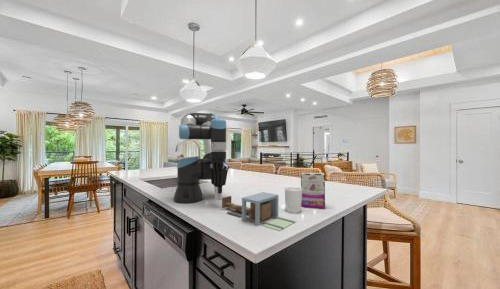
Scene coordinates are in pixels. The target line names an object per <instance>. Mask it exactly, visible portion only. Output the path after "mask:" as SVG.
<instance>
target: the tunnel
mask: <svg viewBox="0 0 500 289" xmlns="http://www.w3.org/2000/svg"><path fill="white" fill-rule="evenodd" d="M266 201H267V202H271V217H270V218H271V219H281V220H285V221H289V222H293V224H295V223H294V221H295V220H294V221H291V220H292V219H290V220H287V219H288V218H287V219H283V218H284V217H283V218H279V217H280V216H279V194H276V193H270V192H264V191H263V192H258V193H254V194H251V195H248V196H247V195H246V196H244V197H241V206H242V215H239V214H236V213H232V211H227V212H226V213H230V214H233V215H236V216H240V218H241V221H242V222H247V220H249V221H252V222H254V223H255V225H256V226H257V227H258V226H259V225H261V224H262V225H264V224H267V225H271V226H274V227H278V228H281V229H282V230H281V231H283V230H284V229H283V227H280V226H277V225H274V224H270V223H268V221H267V222H266V221H264V220H263V221H261V220H260V203H263V202H266ZM247 203H255V219H254V218H251V217H249V216H247V215H246V207H247ZM236 216H235V217H236Z"/></svg>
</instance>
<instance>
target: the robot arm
mask: <svg viewBox="0 0 500 289" xmlns="http://www.w3.org/2000/svg"><path fill="white" fill-rule="evenodd" d="M178 138H179V139H181V140H202V141H203V149H204V150H203V151H204V156H203V157H202V158H201V157H200V156H199V155H196V156H188V157H187V156H186V157H182V158H179V159H178V160H177V166H176V168H177V177H176V178H177V181H176V182H177V183H176V184H177V186H176V189H175V193H174V195H173V201H174V203H179V204H191V203H192V204H193V203H198V202H201V201H203V197H204V194H203V192H202V188H201V186H200V181H202V180H203V181H204V180H207V181H208V180H210V183H211V185H213V187H214V200H215V201H222V194H223V186H226V183H227V177H228V173H229V169H230V165H227V151H226V150H227V121H226V120H225V119H224V118H223V119H222V118H219V117H218V114H216V113H212V112H211V113H205V112H203V113H202V112H190V113H187V114H184V115H183V116H182V118H181V119H180V124H179V127H178Z"/></svg>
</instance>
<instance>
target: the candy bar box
mask: <svg viewBox="0 0 500 289" xmlns="http://www.w3.org/2000/svg"><path fill="white" fill-rule="evenodd" d="M325 175H326V174H325V173H324V172H301V174H300V188H301V189H302V203H301V208H309V209H310V208H311V209H321V210H322V209H323V210H325V209H326V185H325V184H326V177H325Z"/></svg>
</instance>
